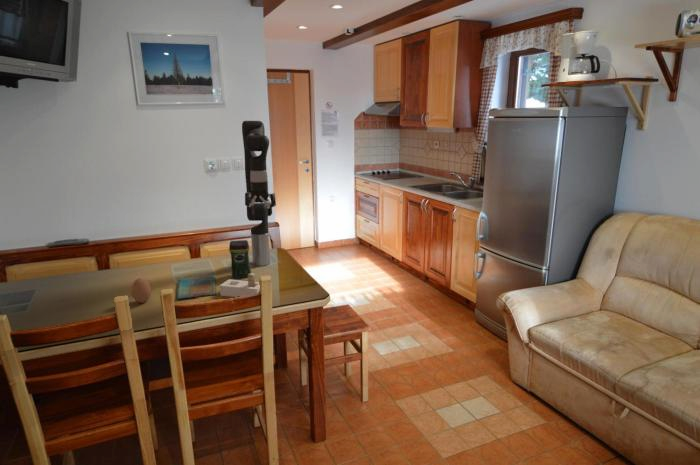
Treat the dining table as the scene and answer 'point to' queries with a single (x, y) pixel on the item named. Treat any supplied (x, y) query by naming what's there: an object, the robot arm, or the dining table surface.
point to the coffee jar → (239, 259)
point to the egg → (141, 290)
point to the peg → (251, 280)
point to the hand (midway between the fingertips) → (261, 215)
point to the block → (238, 288)
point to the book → (196, 288)
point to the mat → (240, 279)
